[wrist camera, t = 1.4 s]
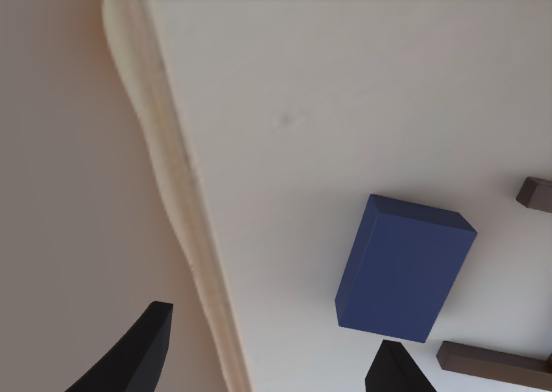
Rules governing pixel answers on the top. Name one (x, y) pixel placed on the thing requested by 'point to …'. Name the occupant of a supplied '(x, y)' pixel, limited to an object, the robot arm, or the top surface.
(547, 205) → the bay
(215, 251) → the top surface
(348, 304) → the tea packet
